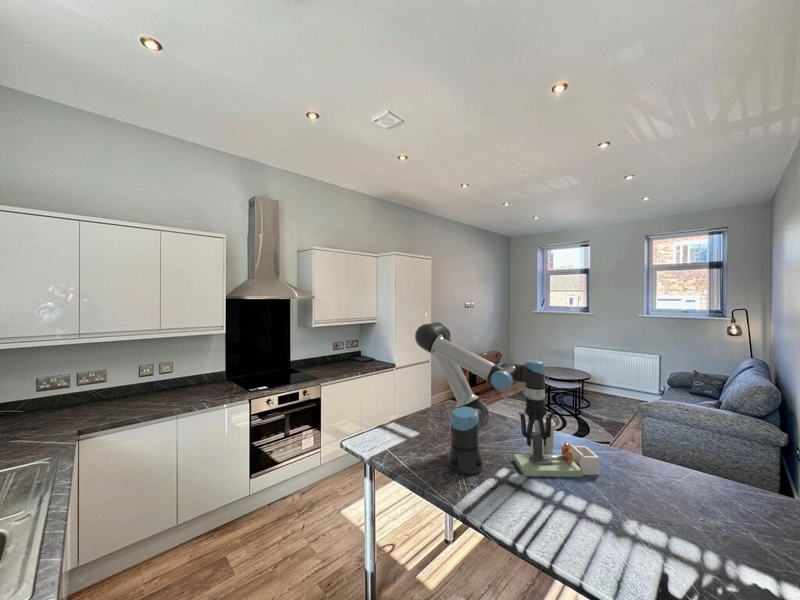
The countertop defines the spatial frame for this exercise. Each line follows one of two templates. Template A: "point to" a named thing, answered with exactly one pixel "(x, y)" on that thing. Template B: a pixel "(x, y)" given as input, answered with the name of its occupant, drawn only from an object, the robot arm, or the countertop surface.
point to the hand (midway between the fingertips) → (536, 453)
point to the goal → (585, 459)
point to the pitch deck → (547, 467)
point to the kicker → (538, 456)
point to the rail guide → (540, 462)
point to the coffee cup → (549, 441)
